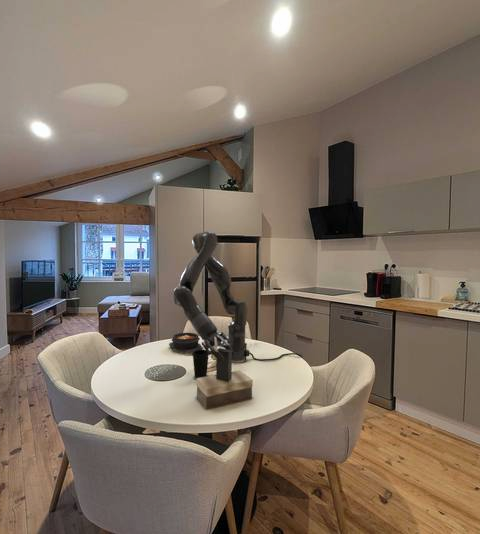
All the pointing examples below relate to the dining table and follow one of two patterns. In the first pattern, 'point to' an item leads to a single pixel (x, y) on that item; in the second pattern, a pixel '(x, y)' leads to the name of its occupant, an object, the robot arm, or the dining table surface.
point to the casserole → (185, 342)
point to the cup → (200, 363)
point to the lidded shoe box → (224, 390)
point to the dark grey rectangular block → (224, 365)
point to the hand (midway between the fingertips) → (227, 357)
